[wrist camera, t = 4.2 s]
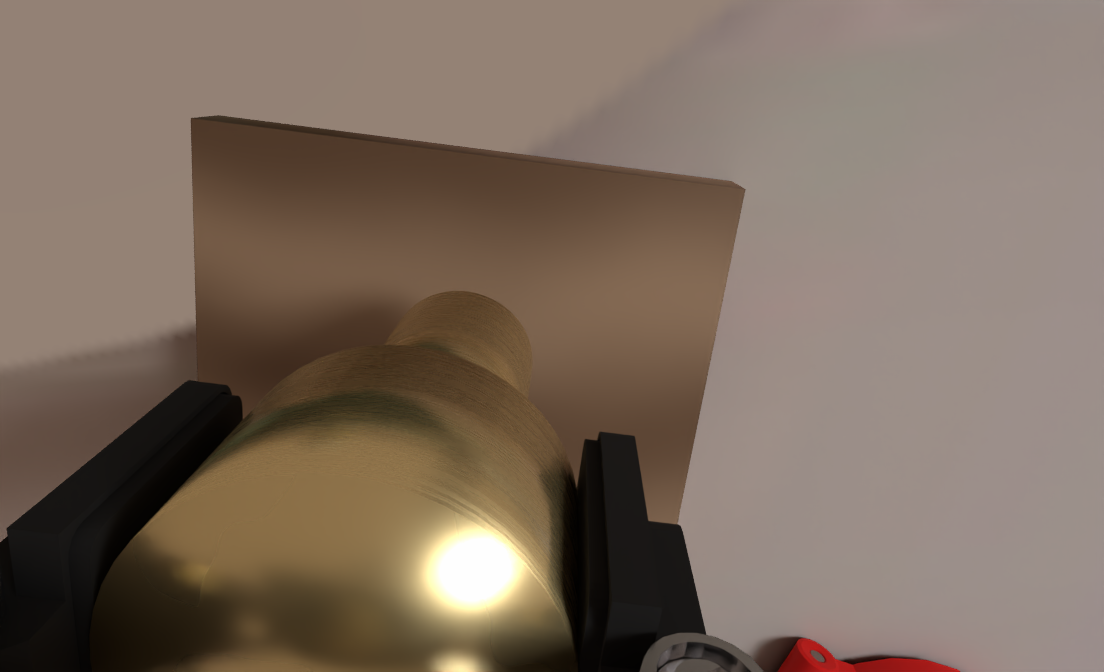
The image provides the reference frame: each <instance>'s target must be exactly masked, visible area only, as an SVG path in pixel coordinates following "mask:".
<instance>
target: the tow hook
mask: <svg viewBox="0 0 1104 672" xmlns="http://www.w3.org/2000/svg"><path fill="white" fill-rule="evenodd" d="M777 672H960V671H959V670H957V669H954V668H951V667H948V666H944V665H941V664H938V663H935V662H931V661H928V660H917V659H901V658H889V659H882V660H876V661H869V662H862V663H856V664H854V665H851V664H848V663H846V662H843V661H840V660H837V659H835V658H834V657H833V655H832V654H831V653H830V652H829V651H828V650H827V649H825V648H824V647H823V646H821V645H820V644H818V643H817V642H815V641H812V640H810V639H806V638H801V639H799V640H798V641H797V643H796V644H795V646H794V647H793V649H792V650H791V652H790V653H789V655H788V656H787V658H786V659H785V661H784V662H783V664H782V665H781V667H780V668H779V670H778V671H777Z"/></svg>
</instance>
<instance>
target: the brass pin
mask: <svg viewBox="0 0 1104 672" xmlns="http://www.w3.org/2000/svg"><path fill="white" fill-rule="evenodd" d="M532 363H533V357H532V349H531V345H530V341H529V338H528V336H527V333H526V332H525V330H524V328H523V326H522V325H521V323H520V322H519V320H518V319H517V318H516V317H515V316H514V315H513V314H512V312H511V311H509V310H508V309H507V308H506V307H504V306H503V305H502V304H500V303H499V302H497V301H495V300H493V299H491V298H489V297H487V296H484V295H481V294H478V293H474V292H468V291H447V292H442V293H438V294H435V295H432V296H429V297H427V298H425V299H423V300H421V301H420V302H418V303H417V304H415V305H414V306H413V307H412V308H410V309H409V310H408V311H407V312H406V313H405V315H404V316H403V317H402V318H401V320H400V321H399V323H398V324H397V326H396V327H395V329H394V330H393V332H392V333H391V334H390V336H389V337H388V339H387V340H386V342H385V343H384V345H375V346H364V347H358V348H353V349H348V350H343V351H340V352H337V353H333V354H330V355H327V356H324V357H321V358H319V359H317V360H315V361H313V362H311V363H309V364H307V365H305V366H303V367H301V368H299V369H298V370H296V371H295V372H293V373H292V374H290V375H289V376H287V377H286V378H284V379H283V380H282V381H280V382H279V383H278V384H277V385H276V386H275V387H274V388H273V389H272V390H271V391H270V392H268V393H267V394H266V395H265V396H264V397H263V399H262V400H261V401H260V402H259V403H258V404H257V405H256V406H255V407H254V408H253V409H252V410H251V411H250V413H249V414H248V415H247V416H246V417H245V418H244V419H243V420H242V421H241V422H240V423H239V424H238V426H237V427H236V428H235V429H234V430H233V431H232V432H231V433H230V434H229V435H228V436H227V437H226V438H225V440H224V441H223V442H222V443H221V444H220V445H219V446H218V447H217V448H216V449H215V450H214V451H213V452H212V454H211V455H210V456H209V457H208V458H207V459H206V460H205V461H204V462H203V463H202V464H201V465H200V466H199V468H198V469H197V470H196V471H195V472H194V473H193V474H192V475H191V476H190V477H189V478H188V479H187V480H186V482H185V483H184V484H183V485H182V486H181V487H180V488H179V489H178V490H177V491H176V492H175V493H174V494H173V496H172V497H171V498H170V499H169V500H168V501H167V502H166V503H165V504H164V505H163V506H162V507H161V508H160V510H159V511H158V512H157V513H156V514H155V515H154V516H153V517H152V518H151V519H150V520H149V521H148V522H147V524H146V525H145V526H144V527H143V528H142V529H141V530H140V531H139V532H138V533H137V534H136V535H135V536H134V538H133V539H132V540H131V541H130V542H129V543H128V545H127V546H126V547H125V548H124V550H123V551H122V552H121V553H120V555H119V556H118V557H117V558H116V560H115V561H114V562H113V564H112V566H111V568H110V570H109V572H108V573H107V575H106V577H105V579H104V581H103V583H102V584H101V587H100V590H99V593H98V596H97V599H96V602H95V605H94V608H93V613H92V620H91V627H90V633H89V642H90V663H91V668H92V672H578V523H577V487H576V482H575V478H574V473H573V469H572V466H571V464H570V461H569V459H568V456H567V453H566V451H565V449H564V447H563V445H562V443H561V441H560V439H559V438H558V436H557V434H556V432H555V430H554V429H553V428H552V426H551V425H550V424H549V422H548V421H547V420H546V418H545V417H544V416H543V414H542V413H541V412H540V411H539V410H538V409H537V408H536V407H535V406H534V405H533V404H532V403H531V402H530V401H529V400H528V395H529V388H530V381H531V374H532Z"/></svg>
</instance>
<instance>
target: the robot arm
mask: <svg viewBox="0 0 1104 672" xmlns="http://www.w3.org/2000/svg"><path fill="white" fill-rule="evenodd" d="M242 420H243V407H242V400H241V398H240V397H239V396H236V395H232V393H231V390H230V388H229V387H228V385H223V384H215V383H207V382H199V381H191V380H189V381H187V382H185V383H184V384H182V385H181V386H180V387H179V388H178V389H176V390H175V391H174V392H173V393H171V394H170V395H169V396H168V397H167V398H165V399H164V400H163V401H162V402H160V403H159V404H158V405H157V406H156V407H154V408H153V409H152V410H151V411H150V412H148V413H147V414H146V415H145V416H143V417H142V418H141V419H140V420H139V421H137V422H136V423H135V424H134V425H132V426H131V427H130V428H129V429H128V430H126V431H125V432H124V433H123V434H121V435H120V436H119V437H118V438H117V439H115V440H114V441H113V442H112V443H110V444H109V445H108V446H107V447H106V448H104V449H103V450H102V451H101V452H99V453H98V454H97V455H96V456H95V457H93V458H92V459H91V460H90V461H88V462H87V463H86V464H85V465H84V466H82V467H81V468H80V469H79V470H77V471H76V472H75V473H74V474H73V475H71V476H70V477H69V478H68V479H66V480H65V481H64V482H63V483H62V484H60V485H59V486H58V487H57V488H55V489H54V490H53V491H52V492H51V493H49V494H48V495H47V496H46V497H44V498H43V499H42V500H41V501H40V502H38V503H37V504H36V505H35V506H33V507H32V508H31V509H30V510H29V511H27V512H26V513H25V514H24V515H22V516H21V517H20V518H19V519H18V520H16V521H15V522H14V523H13V524H11V525H10V526H9V527H8V528H7V534H8V536H7V537H6V538H5V539H4V540H3V541H1V542H0V672H92V668H91V663H90V642H89V633H90V627H91V620H92V613H93V608H94V605H95V602H96V599H97V596H98V593H99V590H100V587H101V584H102V583H103V581H104V579H105V577H106V575H107V573H108V572H109V570H110V568H111V566H112V564H113V562H114V561H115V560H116V558H117V557H118V556H119V555H120V553H121V552H122V551H123V550H124V548H125V547H126V546H127V545H128V543H129V542H130V541H131V540H132V539H133V538H134V536H135V535H136V534H137V533H138V532H139V531H140V530H141V529H142V528H143V527H144V526H145V525H146V524H147V522H148V521H149V520H150V519H151V518H152V517H153V516H154V515H155V514H156V513H157V512H158V511H159V510H160V508H161V507H162V506H163V505H164V504H165V503H166V502H167V501H168V500H169V499H170V498H171V497H172V496H173V494H174V493H175V492H176V491H177V490H178V489H179V488H180V487H181V486H182V485H183V484H184V483H185V482H186V480H187V479H188V478H189V477H190V476H191V475H192V474H193V473H194V472H195V471H196V470H197V469H198V468H199V466H200V465H201V464H202V463H203V462H204V461H205V460H206V459H207V458H208V457H209V456H210V455H211V454H212V452H213V451H214V450H215V449H216V448H217V447H218V446H219V445H220V444H221V443H222V442H223V441H224V440H225V438H226V437H227V436H228V435H229V434H230V433H231V432H232V431H233V430H234V429H235V428H236V427H237V426H238V424H239V423H240V422H241V421H242ZM577 523H578V672H763V670H762V669H761V668H760V667H759V666H758V664H757V663H756V662H755V661H754V660H753V659H752V658H751V657H750V656H749V655H747V654H746V653H744V652H743V651H742V650H740V649H739V648H737V647H736V646H734V645H732V644H730V643H728V642H726V641H723V640H721V639H719V638H716V637H713V636H708V635H706V631H705V627H704V623H703V618H702V614H701V609H700V605H699V601H698V596H697V592H696V588H695V583H694V579H693V574H692V570H691V566H690V561H689V557H688V553H687V548H686V544H685V540H684V535H683V531H682V529H681V526H680V525H678V524H670V523H662V522H654V521H648V515H647V508H646V502H645V496H644V490H643V483H642V477H641V471H640V465H639V458H638V452H637V446H636V440H635V436H632V435H624V434H616V433H608V432H599V434H598V438H597V440H590V439H585V440H584V445H583V451H582V457H581V464H580V470H579V477H578V483H577Z"/></svg>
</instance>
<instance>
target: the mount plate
mask: <svg viewBox="0 0 1104 672" xmlns="http://www.w3.org/2000/svg"><path fill="white" fill-rule="evenodd" d="M191 143H192V179H193V180H192V181H193V218H194V255H195V256H194V257H195V295H196V335H197V373H198V381H199V382H207V383H215V384H223V385H228V387H229V388H230V390H231V393H232V395H236V396H239V397H240V398H241V400H242V407H243V419H244V418H245V417H246V416H247V415H248V414H249V413H250V411H251V410H252V409H253V408H254V407H255V406H256V405H257V404H258V403H259V402H260V401H261V400H262V399H263V397H264V396H265V395H266V394H267V393H268V392H270V391H271V390H272V389H273V388H274V387H275V386H276V385H277V384H278V383H279V382H280V381H282V380H283V379H284V378H286V377H287V376H289V375H290V374H292V373H293V372H295V371H296V370H298V369H299V368H301V367H303V366H305V365H307V364H309V363H311V362H313V361H315V360H317V359H319V358H321V357H324V356H327V355H330V354H333V353H337V352H340V351H343V350H348V349H353V348H358V347H364V346H375V345H384V343H385V342H386V340H387V339H388V337H389V336H390V334H391V333H392V332H393V330H394V329H395V327H396V326H397V324H398V323H399V321H400V320H401V318H402V317H403V316H404V315H405V313H406V312H407V311H408V310H409V309H410V308H412V307H413V306H414V305H415V304H417V303H418V302H420V301H421V300H423V299H425V298H427V297H429V296H432V295H435V294H438V293H442V292H447V291H468V292H474V293H478V294H481V295H484V296H487V297H489V298H491V299H493V300H495V301H497V302H499V303H500V304H502V305H503V306H504V307H506V308H507V309H508V310H509V311H511V312H512V314H513V315H514V316H515V317H516V318H517V319H518V320H519V322H520V323H521V325H522V326H523V328H524V330H525V332H526V333H527V336H528V338H529V341H530V345H531V349H532V357H533V363H532V374H531V381H530V388H529V395H528V400H529V401H530V402H531V403H532V404H533V405H534V406H535V407H536V408H537V409H538V410H539V411H540V412H541V413H542V414H543V416H544V417H545V418H546V420H547V421H548V422H549V424H550V425H551V426H552V428H553V429H554V430H555V432H556V434H557V436H558V438H559V439H560V441H561V443H562V445H563V447H564V449H565V451H566V453H567V456H568V459H569V461H570V464H571V466H572V469H573V473H574V478H575V482H576V487H577V483H578V477H579V470H580V464H581V457H582V451H583V445H584V440H585V439H590V440H597V438H598V434H599V432H608V433H616V434H624V435H632V436H635V440H636V446H637V452H638V458H639V465H640V471H641V477H642V483H643V490H644V496H645V502H646V508H647V515H648V521H654V522H662V523H670V524H677V522H678V517H679V512H680V508H681V503H682V498H683V493H684V488H685V483H686V478H687V473H688V468H689V463H690V458H691V454H692V449H693V444H694V439H695V434H696V429H697V424H698V419H699V414H700V409H701V404H702V399H703V395H704V390H705V385H706V380H707V375H708V370H709V365H710V360H711V355H712V350H713V345H714V341H715V336H716V331H717V326H718V321H719V316H720V311H721V306H722V301H723V296H724V291H725V287H726V282H727V277H728V272H729V267H730V262H731V257H732V252H733V247H734V242H735V237H736V233H737V228H738V223H739V218H740V213H741V208H742V203H743V198H744V193H745V189H744V188H742V187H741V186H739V185H737V184H735V183H734V182H732V181H725V180H717V179H709V178H702V177H694V176H686V175H678V174H671V173H663V172H655V171H647V170H639V169H632V168H624V167H616V166H608V165H600V164H593V163H585V162H577V161H569V160H561V159H554V158H546V157H538V156H530V155H523V154H515V153H507V152H499V151H491V150H484V149H475V148H468V147H460V146H452V145H444V144H437V143H428V142H421V141H413V140H406V139H398V138H390V137H382V136H374V135H367V134H359V133H350V132H343V131H335V130H327V129H320V128H312V127H304V126H297V125H289V124H281V123H273V122H265V121H258V120H250V119H242V118H234V117H227V116H209V117H199V118H191Z"/></svg>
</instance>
